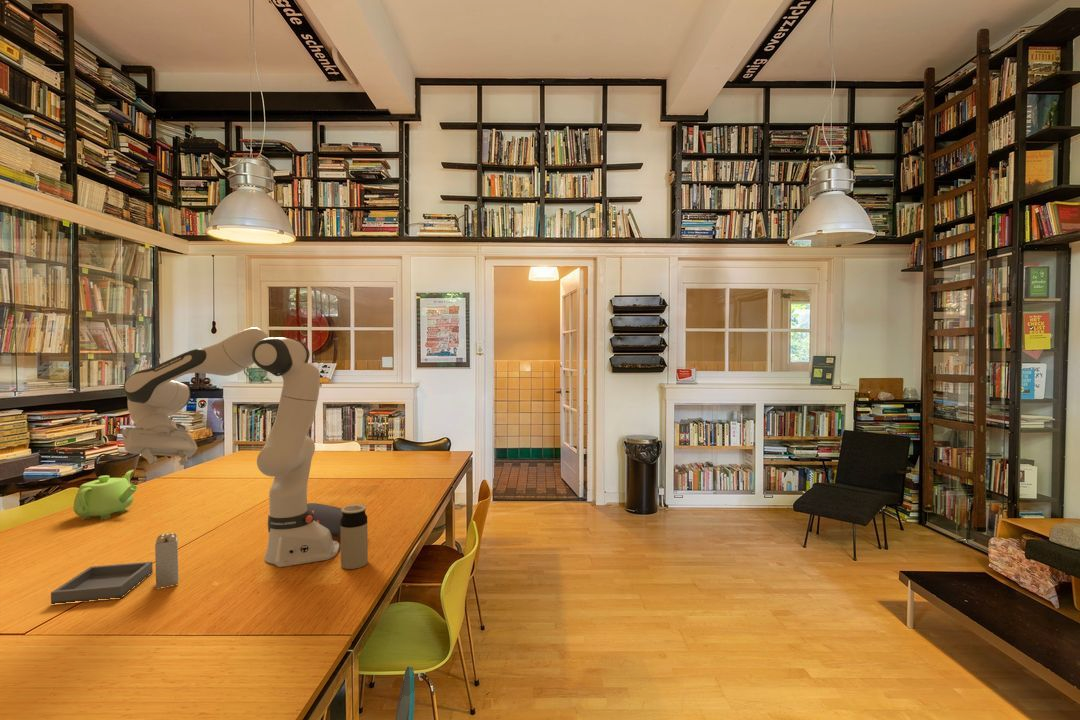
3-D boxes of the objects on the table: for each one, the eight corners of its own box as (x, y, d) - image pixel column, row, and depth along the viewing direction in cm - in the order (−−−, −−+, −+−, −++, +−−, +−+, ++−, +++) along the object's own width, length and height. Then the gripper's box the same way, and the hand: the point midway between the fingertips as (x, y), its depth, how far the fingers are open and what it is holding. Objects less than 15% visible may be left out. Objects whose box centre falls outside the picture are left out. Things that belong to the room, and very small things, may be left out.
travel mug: (358, 571, 153) (358, 513, 153) (335, 568, 155) (335, 511, 154) (372, 560, 161) (372, 504, 160) (350, 558, 162) (349, 503, 162)
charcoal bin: (152, 572, 152) (152, 561, 152) (121, 599, 136) (120, 586, 136) (90, 578, 148) (90, 566, 148) (51, 605, 132) (50, 592, 132)
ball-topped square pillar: (178, 578, 148) (177, 529, 148) (177, 585, 144) (176, 534, 144) (157, 583, 145) (156, 532, 145) (156, 589, 141) (155, 538, 141)
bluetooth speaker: (297, 532, 185) (296, 505, 185) (318, 524, 194) (318, 498, 193) (339, 543, 175) (339, 515, 174) (360, 534, 183) (360, 507, 183)
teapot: (114, 524, 193) (113, 483, 192) (59, 524, 193) (58, 483, 193) (164, 503, 218) (163, 467, 217) (115, 503, 218) (114, 467, 218)
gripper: (126, 419, 150) (140, 454, 144) (192, 427, 168) (207, 458, 163) (112, 434, 150) (126, 469, 145) (180, 440, 169) (194, 471, 163)
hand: (169, 463), depth 154 cm, fingers open, 8 cm apart
